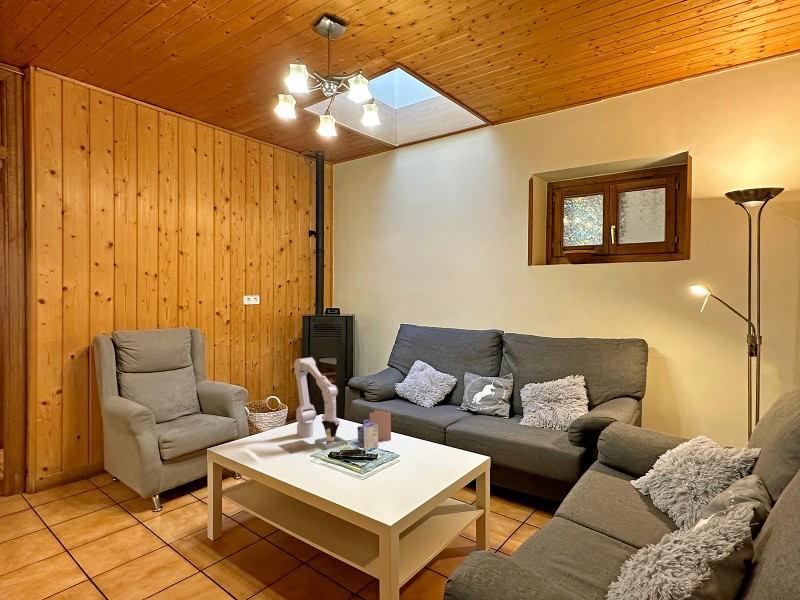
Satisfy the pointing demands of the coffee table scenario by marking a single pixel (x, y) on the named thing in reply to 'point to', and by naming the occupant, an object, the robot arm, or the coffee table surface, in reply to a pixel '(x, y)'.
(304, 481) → the coffee table surface
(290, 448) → the flat gray square panel
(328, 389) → the robot arm
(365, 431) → the ink cartridge box
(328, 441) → the led light bulb
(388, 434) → the greeting card
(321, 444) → the parts tray
